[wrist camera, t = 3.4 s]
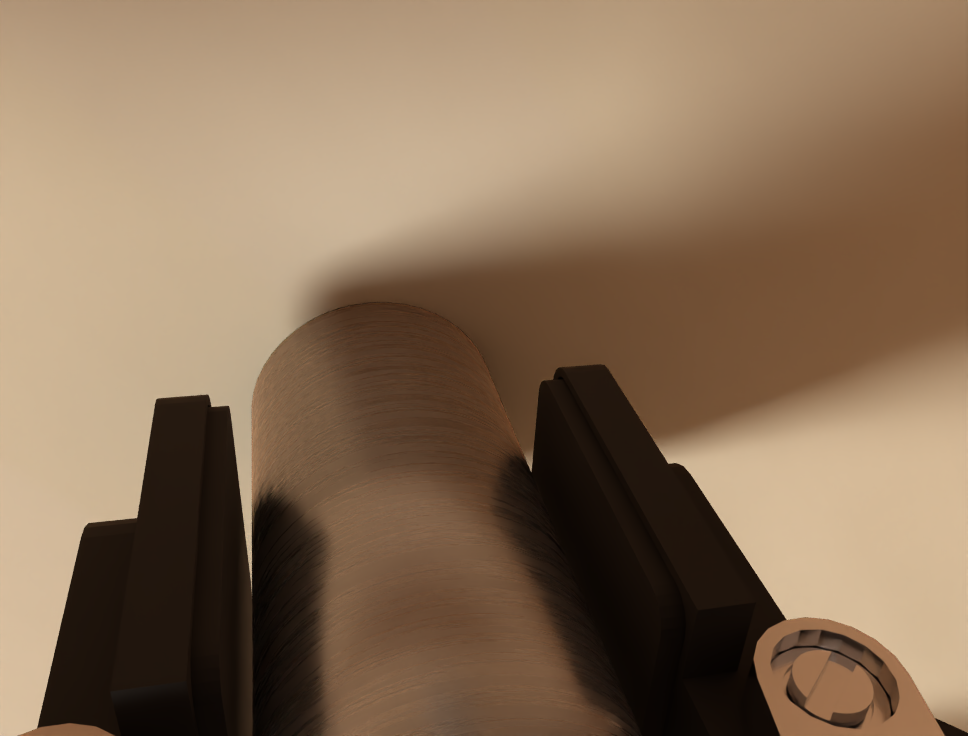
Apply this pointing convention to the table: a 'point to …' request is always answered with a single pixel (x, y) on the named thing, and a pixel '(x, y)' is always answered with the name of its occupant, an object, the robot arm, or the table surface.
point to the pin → (408, 548)
